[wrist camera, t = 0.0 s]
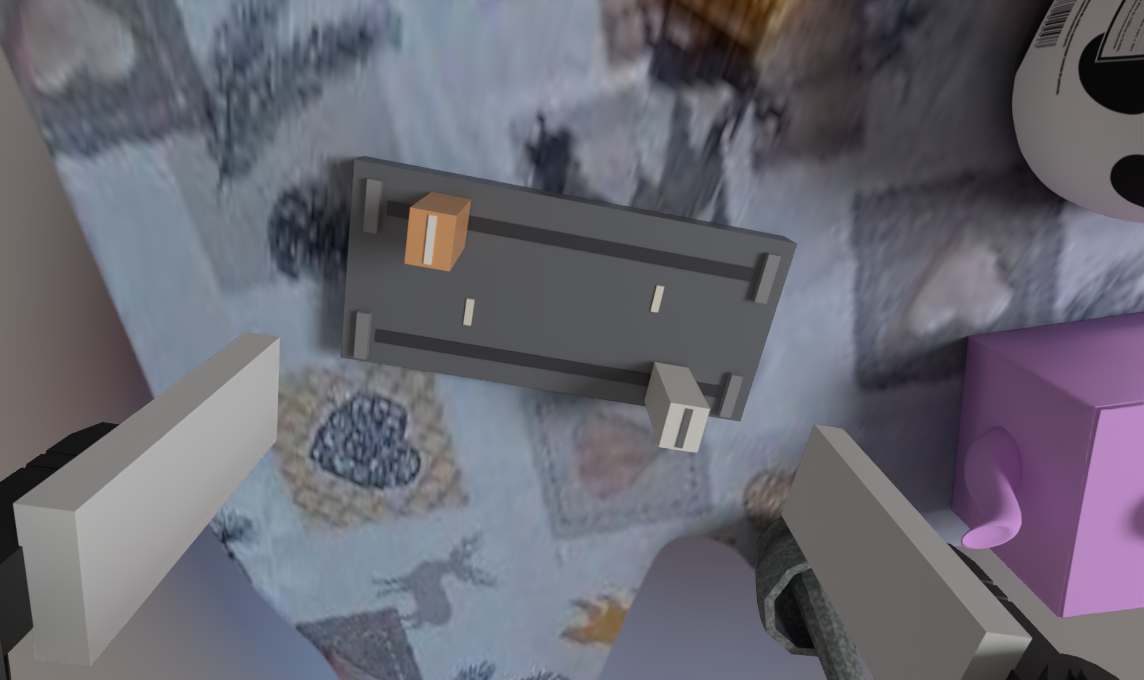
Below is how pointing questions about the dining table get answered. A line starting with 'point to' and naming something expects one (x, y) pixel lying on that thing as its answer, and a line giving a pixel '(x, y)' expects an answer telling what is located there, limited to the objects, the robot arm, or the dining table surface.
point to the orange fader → (437, 231)
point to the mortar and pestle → (800, 606)
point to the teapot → (1057, 459)
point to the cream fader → (676, 407)
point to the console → (559, 290)
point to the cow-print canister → (1085, 103)
